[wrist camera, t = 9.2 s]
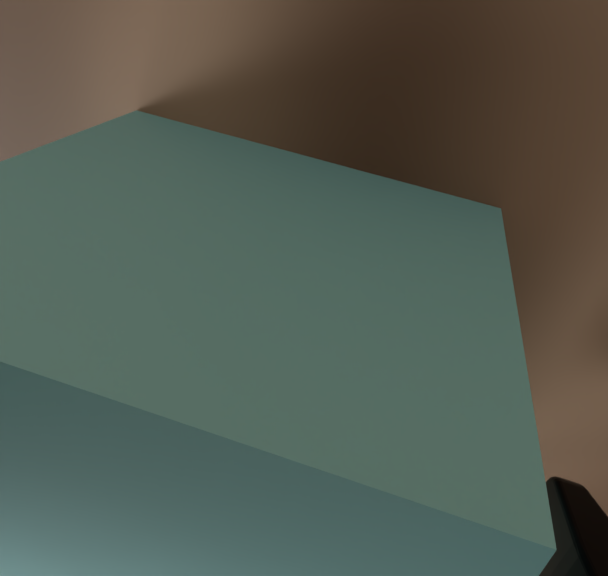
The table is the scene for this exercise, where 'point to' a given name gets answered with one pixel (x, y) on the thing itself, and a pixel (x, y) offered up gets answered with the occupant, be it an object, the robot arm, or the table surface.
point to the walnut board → (379, 132)
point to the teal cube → (256, 367)
